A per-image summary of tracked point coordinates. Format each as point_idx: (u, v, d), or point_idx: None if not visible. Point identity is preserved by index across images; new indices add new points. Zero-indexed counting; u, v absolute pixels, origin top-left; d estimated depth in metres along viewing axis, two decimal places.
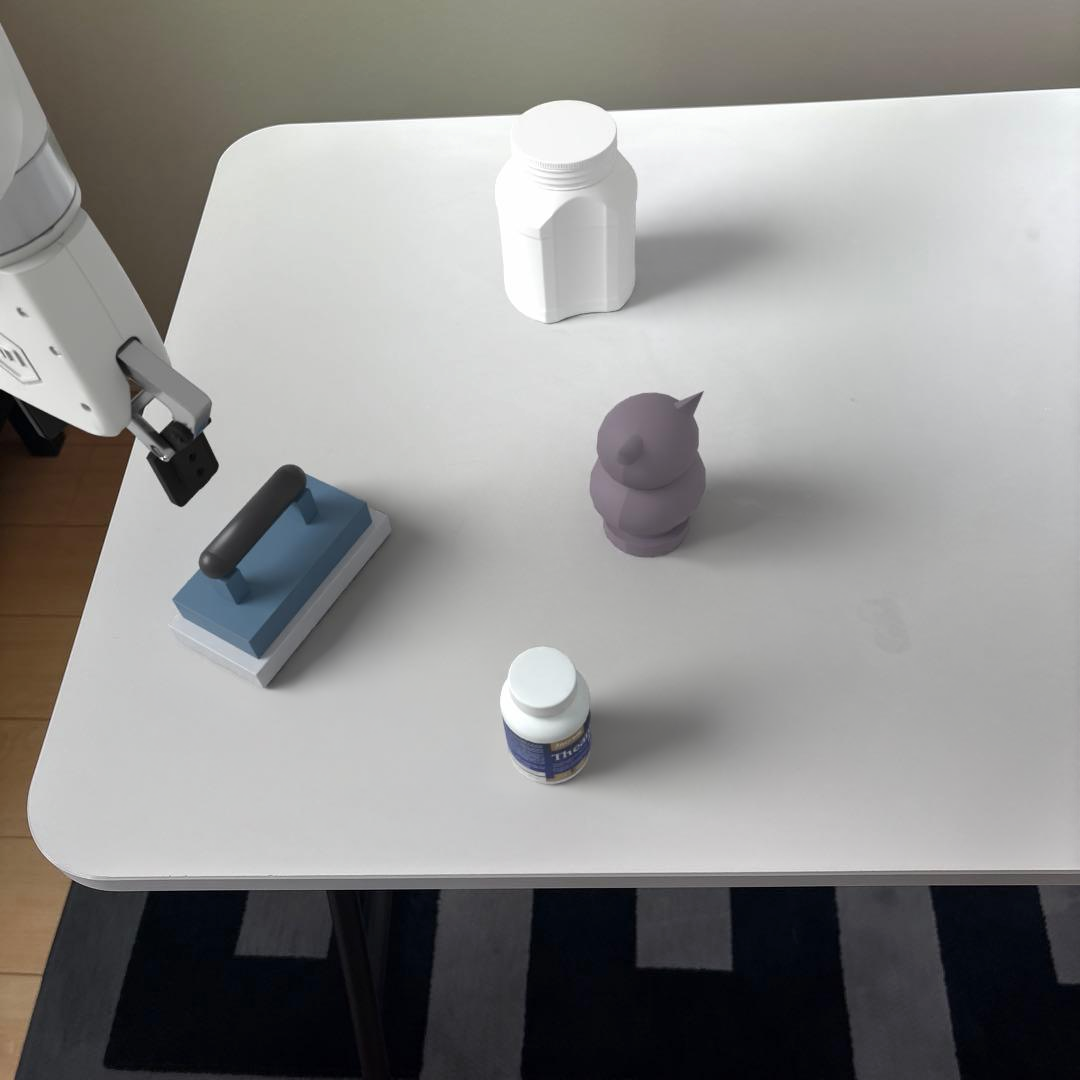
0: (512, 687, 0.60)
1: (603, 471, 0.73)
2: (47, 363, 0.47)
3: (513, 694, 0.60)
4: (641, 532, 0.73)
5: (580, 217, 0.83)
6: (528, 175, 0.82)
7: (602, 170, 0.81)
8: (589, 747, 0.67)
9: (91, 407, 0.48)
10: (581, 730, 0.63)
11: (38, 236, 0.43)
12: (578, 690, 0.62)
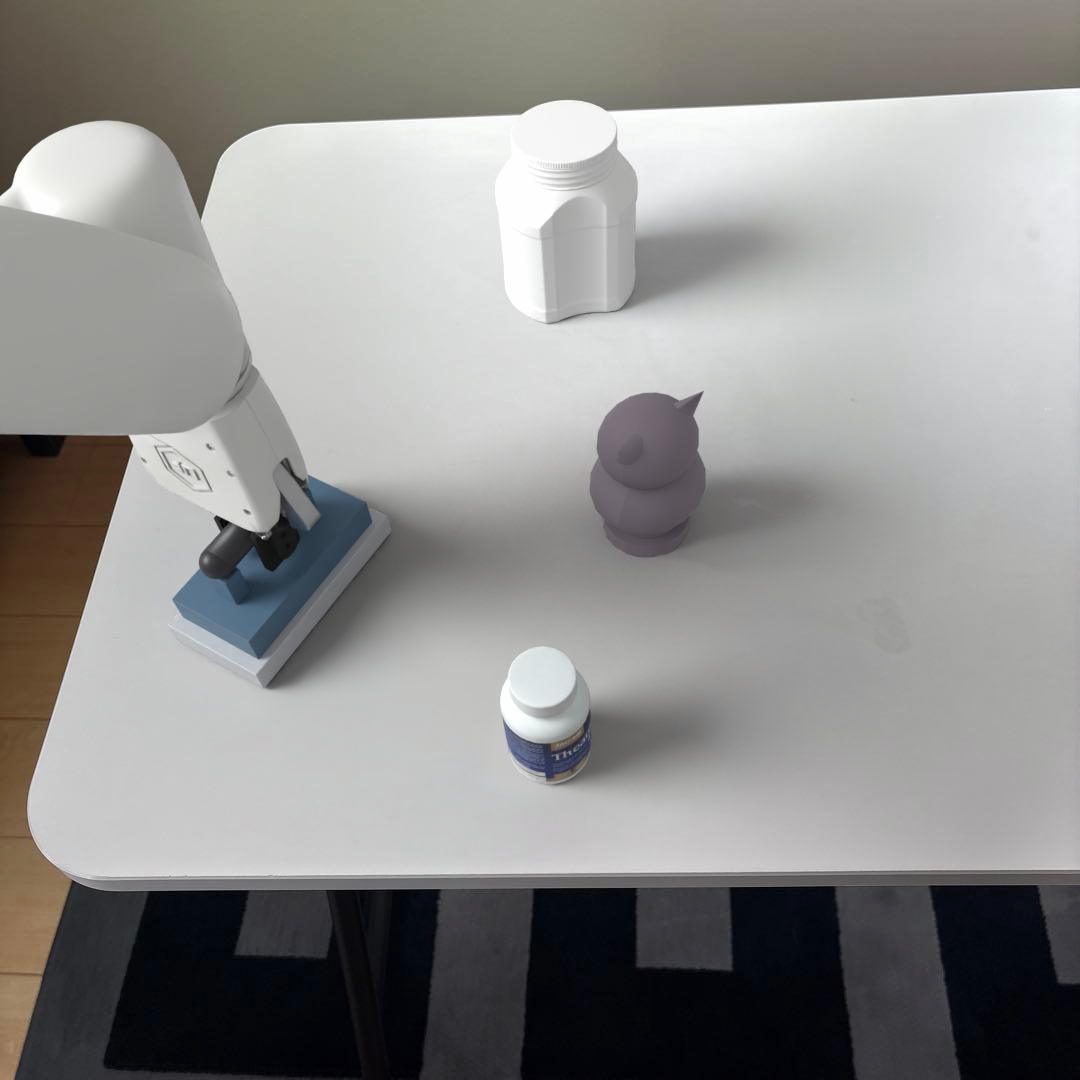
0: (512, 687, 0.60)
1: (603, 471, 0.73)
2: (222, 481, 0.60)
3: (513, 694, 0.60)
4: (641, 531, 0.73)
5: (580, 217, 0.83)
6: (528, 174, 0.82)
7: (602, 170, 0.81)
8: (589, 747, 0.67)
9: (252, 512, 0.62)
10: (581, 730, 0.63)
11: None
12: (578, 690, 0.62)
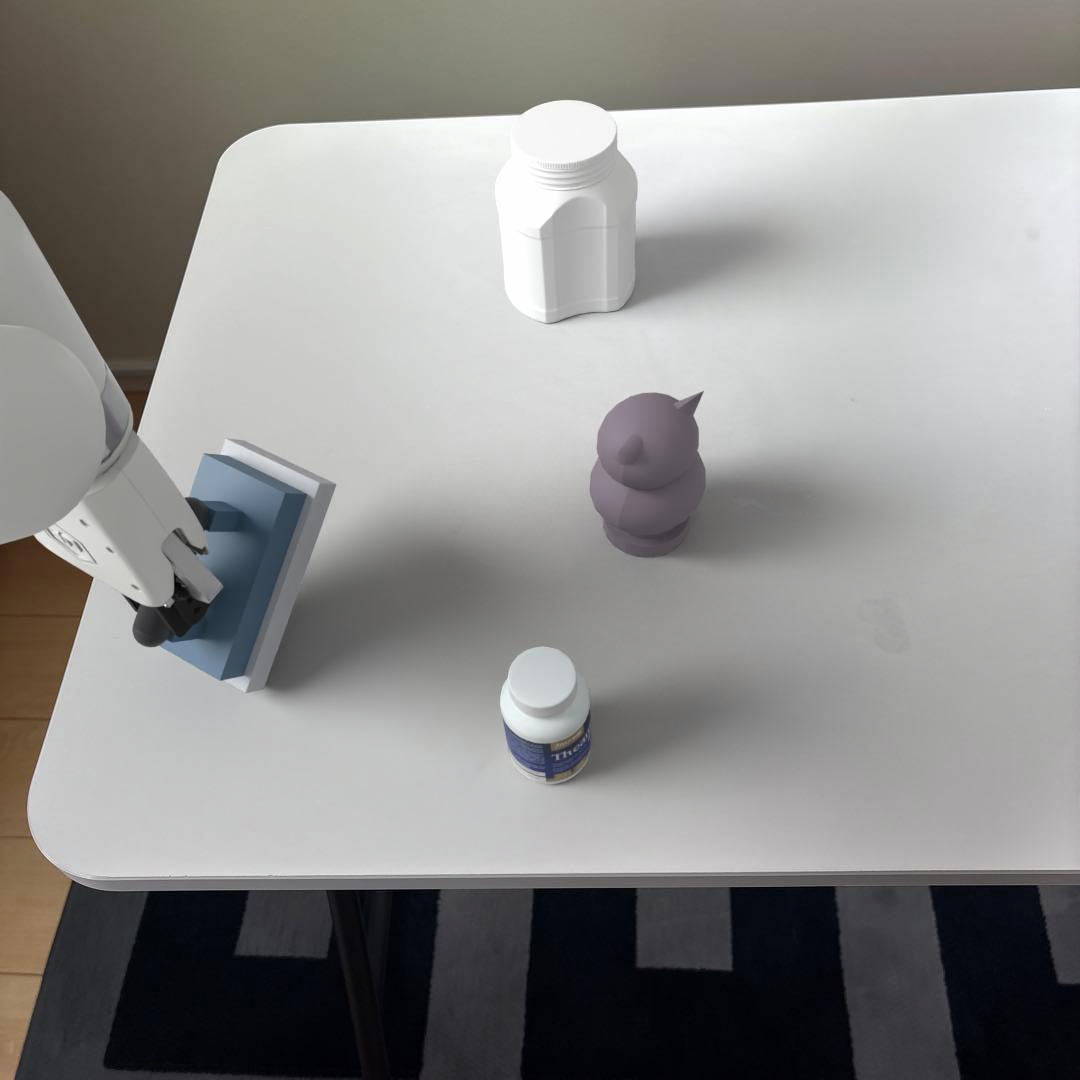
0: (512, 687, 0.60)
1: (603, 471, 0.73)
2: (103, 556, 0.54)
3: (513, 694, 0.60)
4: (641, 532, 0.73)
5: (580, 217, 0.83)
6: (528, 175, 0.82)
7: (602, 170, 0.81)
8: (589, 747, 0.67)
9: (140, 588, 0.56)
10: (581, 730, 0.63)
11: None
12: (578, 690, 0.62)
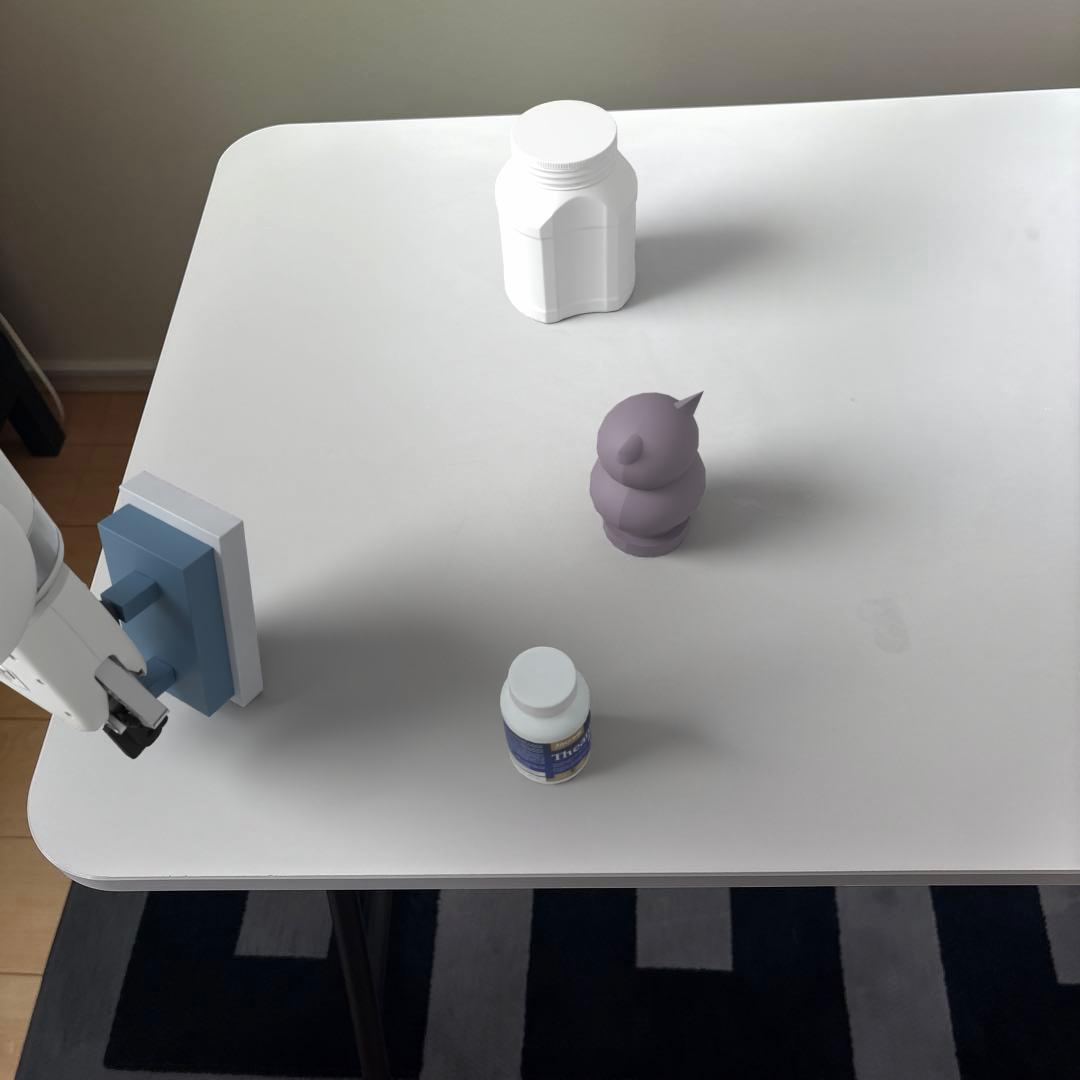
0: (512, 687, 0.60)
1: (603, 471, 0.73)
2: (35, 685, 0.54)
3: (513, 694, 0.60)
4: (641, 531, 0.73)
5: (580, 217, 0.83)
6: (528, 175, 0.82)
7: (602, 170, 0.81)
8: (589, 747, 0.67)
9: (73, 716, 0.55)
10: (581, 730, 0.63)
11: None
12: (578, 690, 0.62)
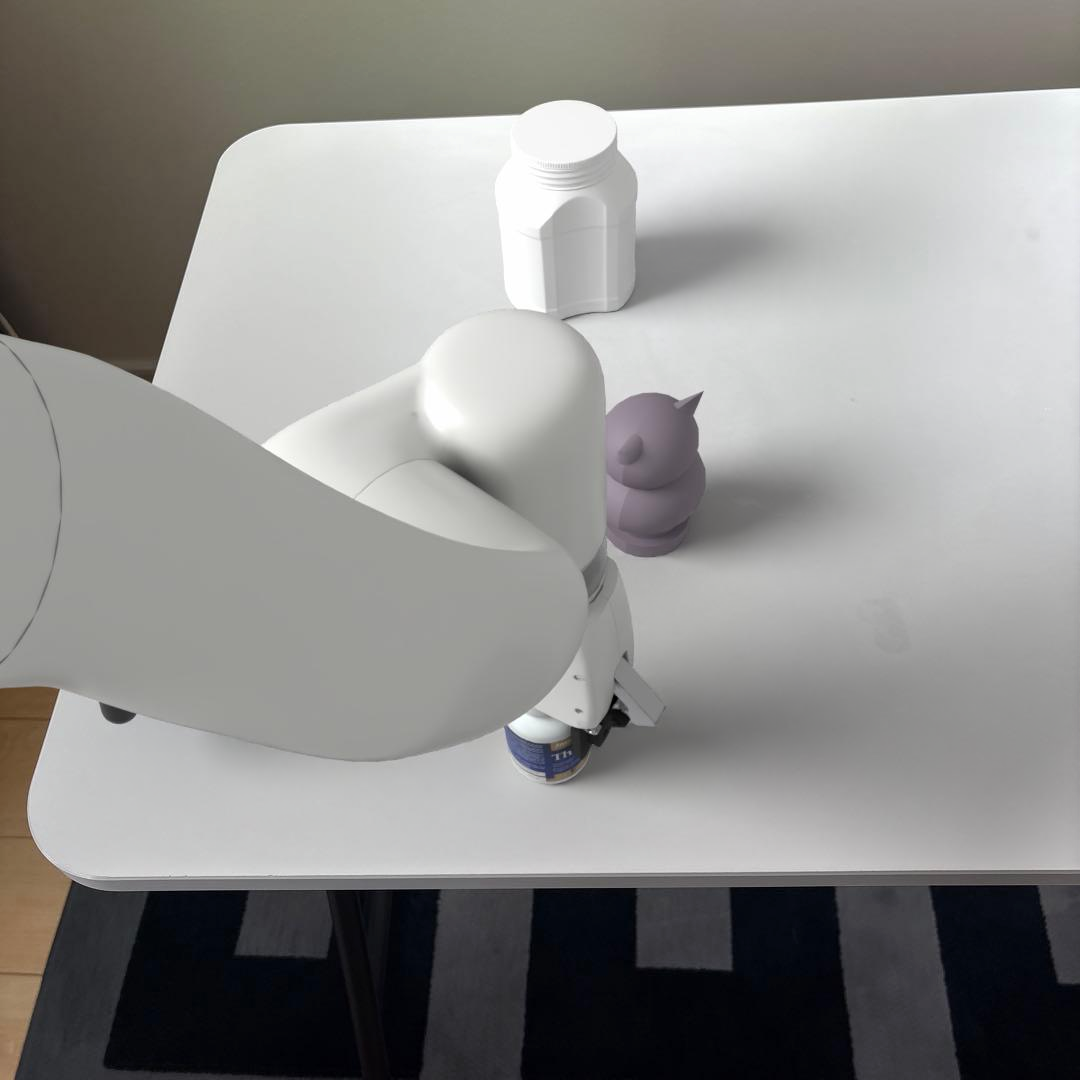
0: None
1: None
2: (560, 682, 0.53)
3: None
4: (641, 531, 0.73)
5: (580, 217, 0.83)
6: (528, 175, 0.82)
7: (602, 170, 0.81)
8: None
9: (586, 712, 0.54)
10: None
11: (590, 594, 0.49)
12: None
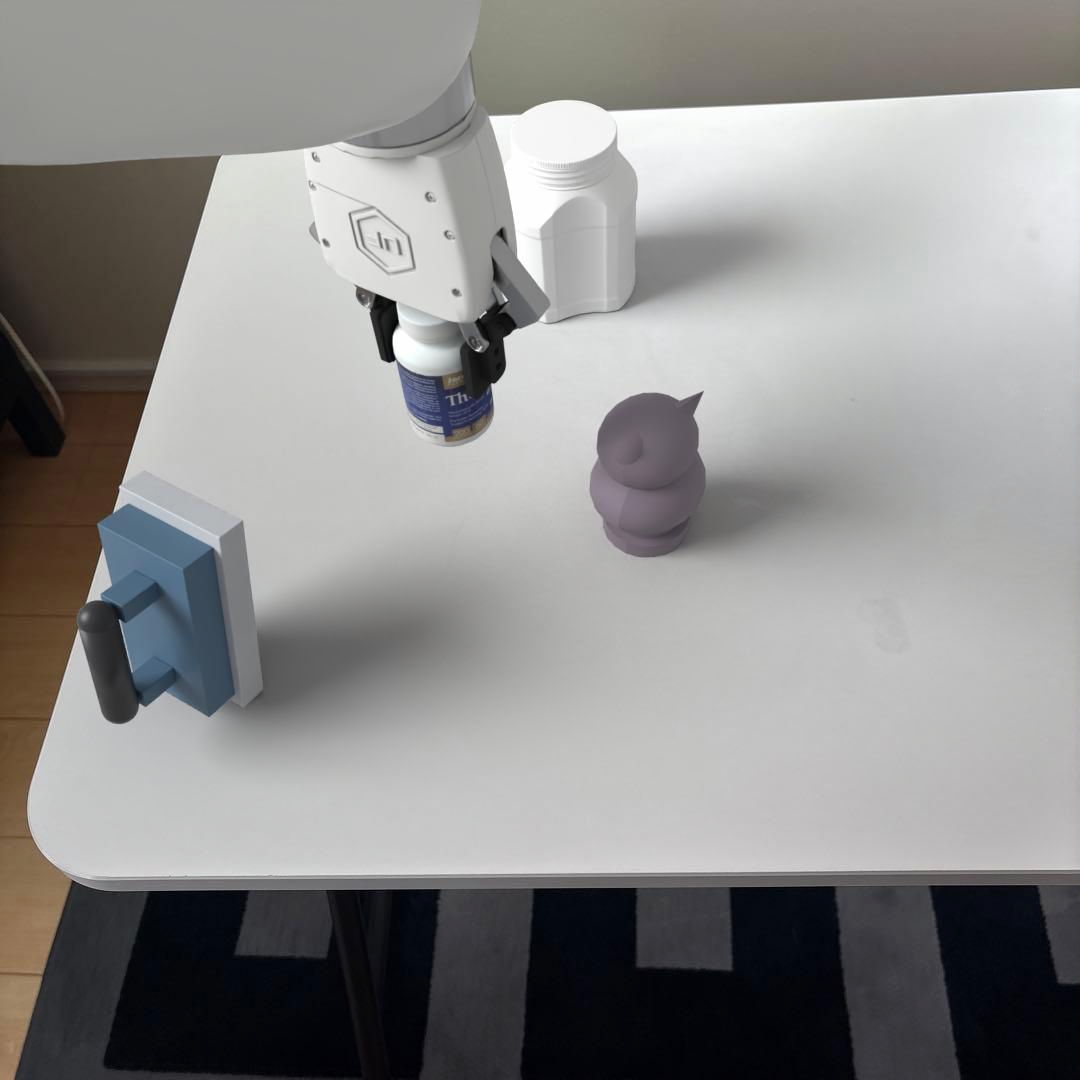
0: (400, 309, 0.59)
1: (603, 471, 0.73)
2: (433, 249, 0.51)
3: (401, 315, 0.59)
4: (641, 532, 0.73)
5: (580, 217, 0.83)
6: (528, 175, 0.82)
7: (602, 170, 0.81)
8: (490, 408, 0.65)
9: (463, 292, 0.53)
10: None
11: (454, 125, 0.48)
12: None
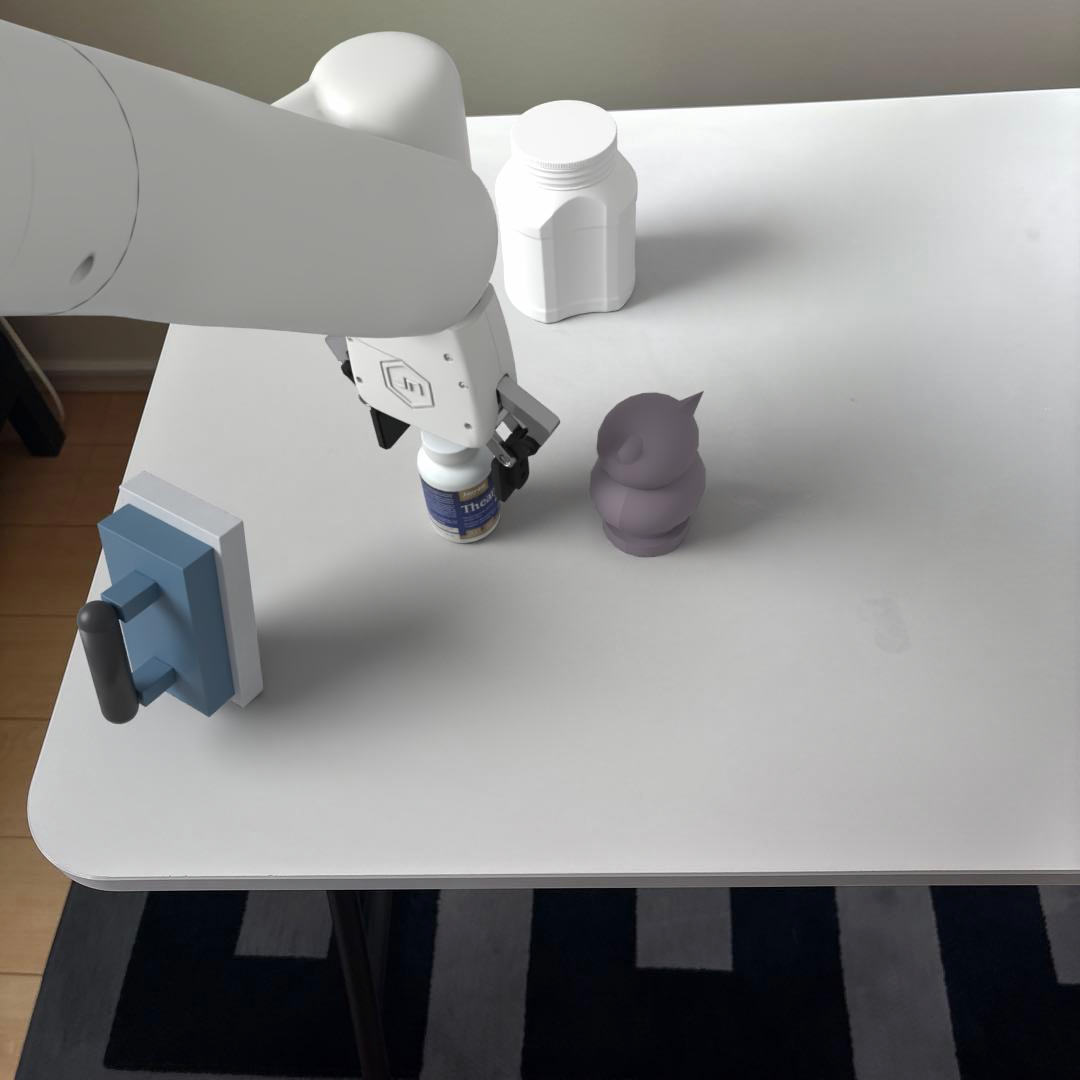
0: (424, 439, 0.72)
1: (603, 471, 0.73)
2: (449, 393, 0.63)
3: (425, 444, 0.71)
4: (641, 531, 0.73)
5: (580, 217, 0.83)
6: (528, 175, 0.82)
7: (602, 170, 0.81)
8: (497, 511, 0.78)
9: (473, 426, 0.64)
10: (486, 484, 0.74)
11: None
12: (482, 448, 0.74)
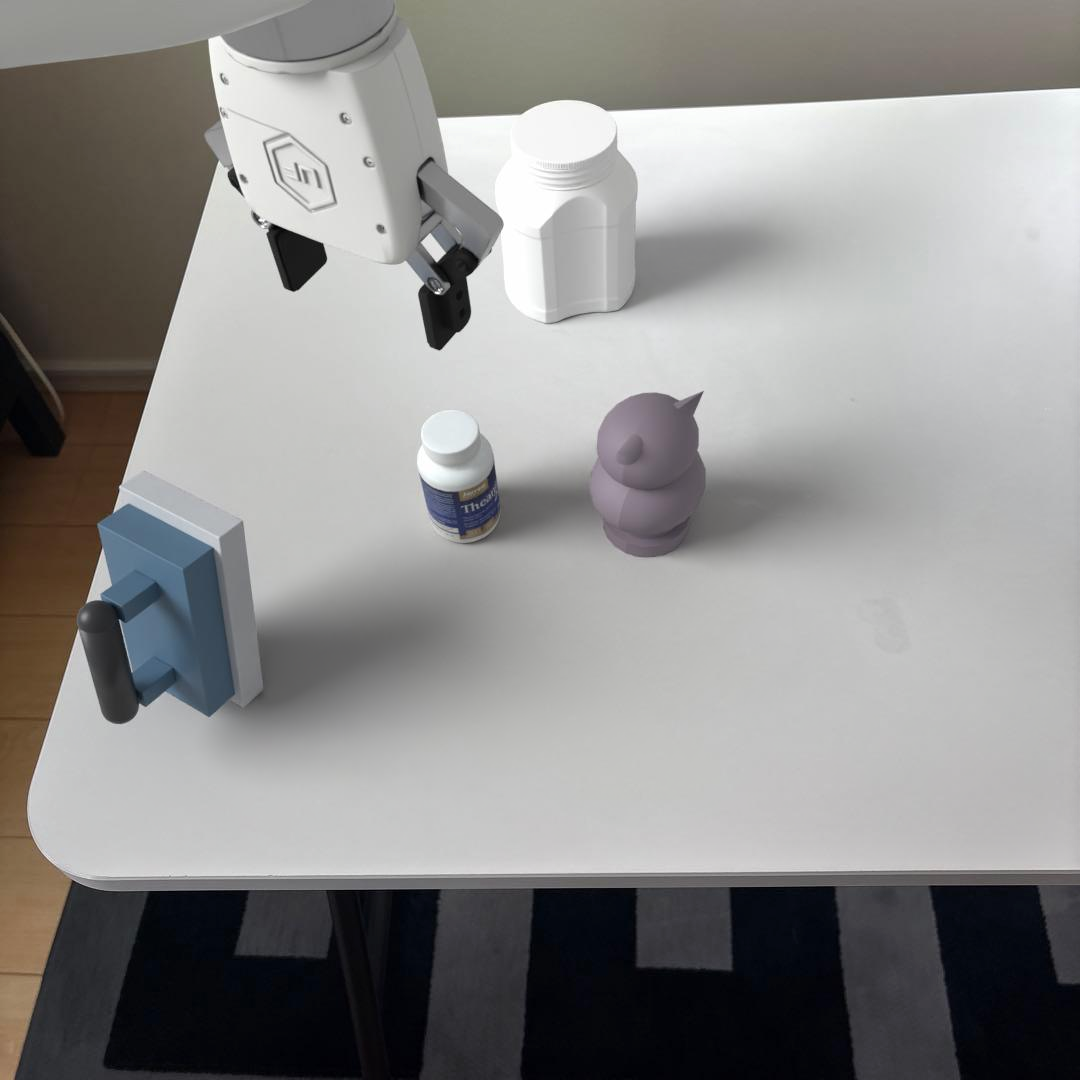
0: (424, 439, 0.72)
1: (603, 471, 0.73)
2: (353, 179, 0.47)
3: (425, 444, 0.71)
4: (641, 531, 0.73)
5: (580, 217, 0.83)
6: (528, 175, 0.82)
7: (602, 170, 0.81)
8: (497, 511, 0.78)
9: (388, 228, 0.48)
10: (485, 484, 0.74)
11: (369, 37, 0.43)
12: (482, 448, 0.74)
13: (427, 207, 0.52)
